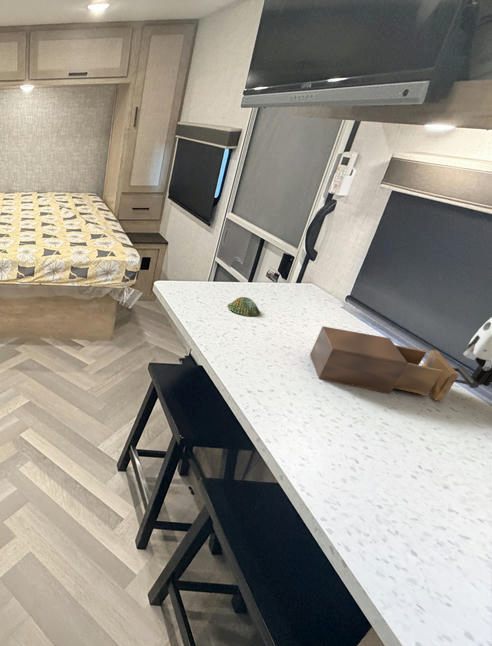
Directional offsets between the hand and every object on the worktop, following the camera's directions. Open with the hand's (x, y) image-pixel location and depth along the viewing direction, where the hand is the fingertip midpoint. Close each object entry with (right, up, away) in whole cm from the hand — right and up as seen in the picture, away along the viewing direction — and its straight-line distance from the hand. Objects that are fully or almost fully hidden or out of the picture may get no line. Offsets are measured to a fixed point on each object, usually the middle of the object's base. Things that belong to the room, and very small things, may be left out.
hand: (479, 382), depth 96 cm
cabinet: (-22, 0, +12) cm, 25 cm away
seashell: (-29, +18, +45) cm, 56 cm away
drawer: (-10, -1, +6) cm, 12 cm away
